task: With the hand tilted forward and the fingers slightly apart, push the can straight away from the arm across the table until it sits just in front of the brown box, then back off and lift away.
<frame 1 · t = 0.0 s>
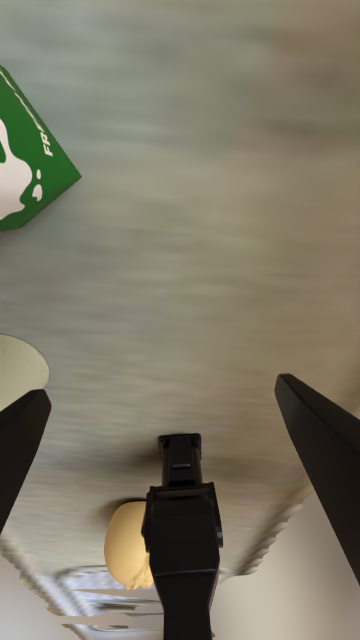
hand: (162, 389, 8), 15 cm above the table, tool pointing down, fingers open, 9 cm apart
can: (10, 364, 26), on the table
milk carton: (15, 160, 17), on the table
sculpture: (141, 505, 45), on the table
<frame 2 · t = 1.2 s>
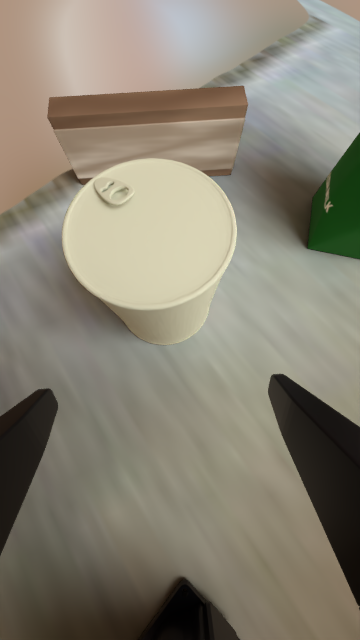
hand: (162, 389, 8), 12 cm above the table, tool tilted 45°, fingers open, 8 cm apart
brown box: (156, 171, 27), on the table
can: (165, 301, 23), on the table
milk carton: (339, 229, 25), on the table
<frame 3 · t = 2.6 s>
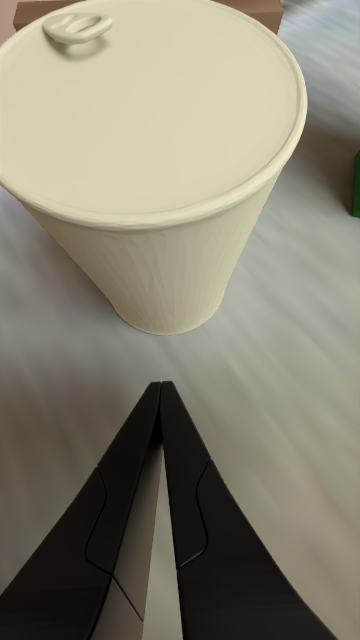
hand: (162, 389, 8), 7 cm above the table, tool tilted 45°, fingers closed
brown box: (158, 124, 21), on the table
can: (166, 279, 17), on the table
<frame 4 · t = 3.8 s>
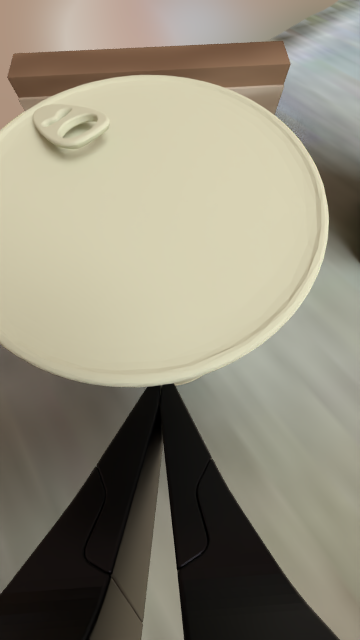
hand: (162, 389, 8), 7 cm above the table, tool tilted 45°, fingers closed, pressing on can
brown box: (159, 163, 21), on the table
can: (168, 322, 16), on the table, touching gripper
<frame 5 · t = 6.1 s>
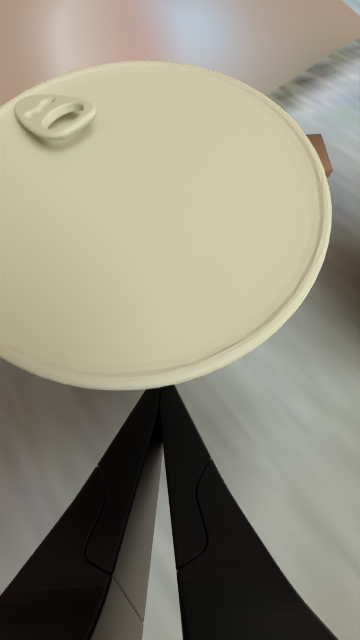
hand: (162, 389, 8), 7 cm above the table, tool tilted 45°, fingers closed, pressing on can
brown box: (163, 244, 18), on the table
can: (166, 321, 16), on the table, touching gripper
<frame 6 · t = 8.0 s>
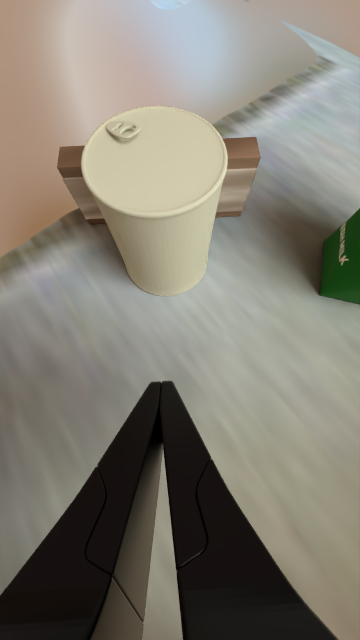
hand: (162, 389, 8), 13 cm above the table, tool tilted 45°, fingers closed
brown box: (164, 211, 26), on the table
can: (166, 259, 25), on the table
milk carton: (352, 275, 24), on the table
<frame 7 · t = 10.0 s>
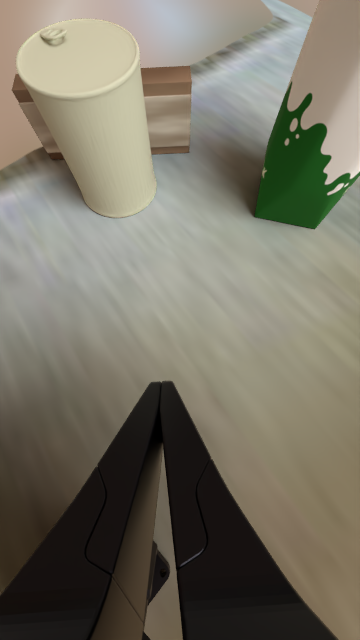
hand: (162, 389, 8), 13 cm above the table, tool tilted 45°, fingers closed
brown box: (120, 148, 29), on the table
can: (120, 189, 27), on the table
milk carton: (286, 201, 27), on the table
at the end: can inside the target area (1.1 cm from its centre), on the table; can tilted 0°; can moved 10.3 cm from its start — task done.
